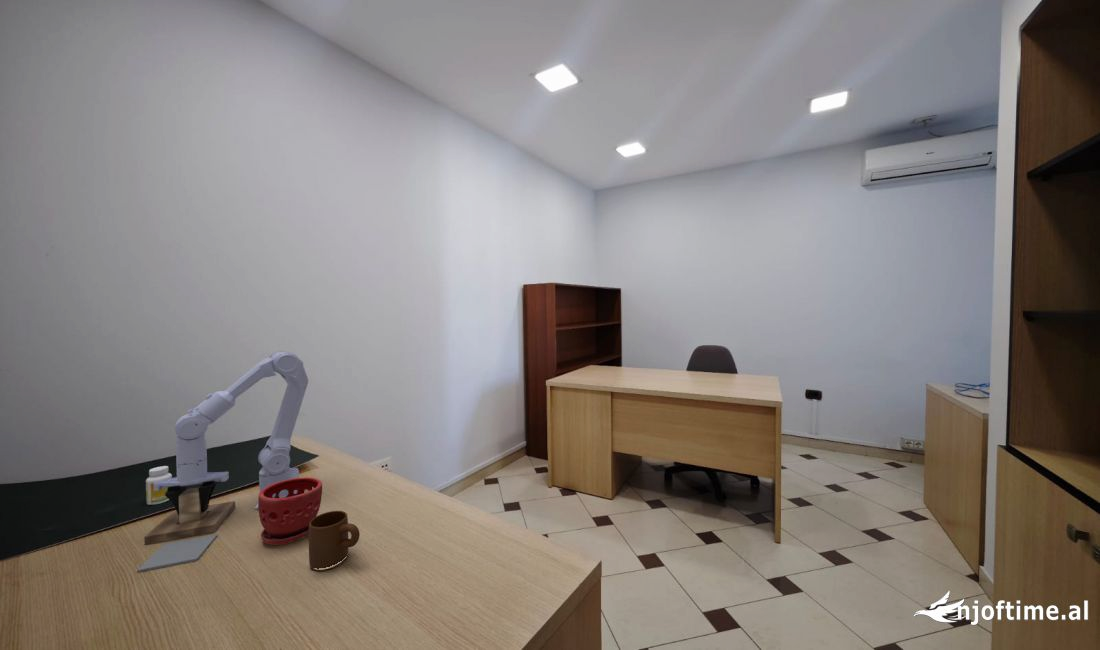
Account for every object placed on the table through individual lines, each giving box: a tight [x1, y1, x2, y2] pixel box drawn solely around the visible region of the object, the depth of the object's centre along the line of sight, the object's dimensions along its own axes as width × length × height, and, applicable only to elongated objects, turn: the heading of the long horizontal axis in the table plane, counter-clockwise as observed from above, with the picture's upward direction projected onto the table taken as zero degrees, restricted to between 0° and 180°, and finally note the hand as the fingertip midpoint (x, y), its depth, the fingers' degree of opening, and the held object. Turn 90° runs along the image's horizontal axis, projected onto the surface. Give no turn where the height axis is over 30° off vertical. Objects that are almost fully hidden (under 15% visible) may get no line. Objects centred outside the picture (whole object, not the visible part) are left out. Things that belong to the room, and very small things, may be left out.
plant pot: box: [257, 477, 323, 546], centre depth 94 cm, size 13×13×12 cm
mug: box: [307, 510, 360, 569], centre depth 83 cm, size 12×8×9 cm, turn 73°
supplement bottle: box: [145, 465, 173, 506], centre depth 111 cm, size 5×5×10 cm
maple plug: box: [179, 487, 207, 524], centre depth 98 cm, size 4×4×9 cm
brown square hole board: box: [143, 500, 236, 546], centre depth 98 cm, size 13×13×2 cm
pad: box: [136, 534, 218, 573], centre depth 86 cm, size 10×10×1 cm
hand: (193, 512), depth 98 cm, fingers closed on maple plug, 4 cm apart
